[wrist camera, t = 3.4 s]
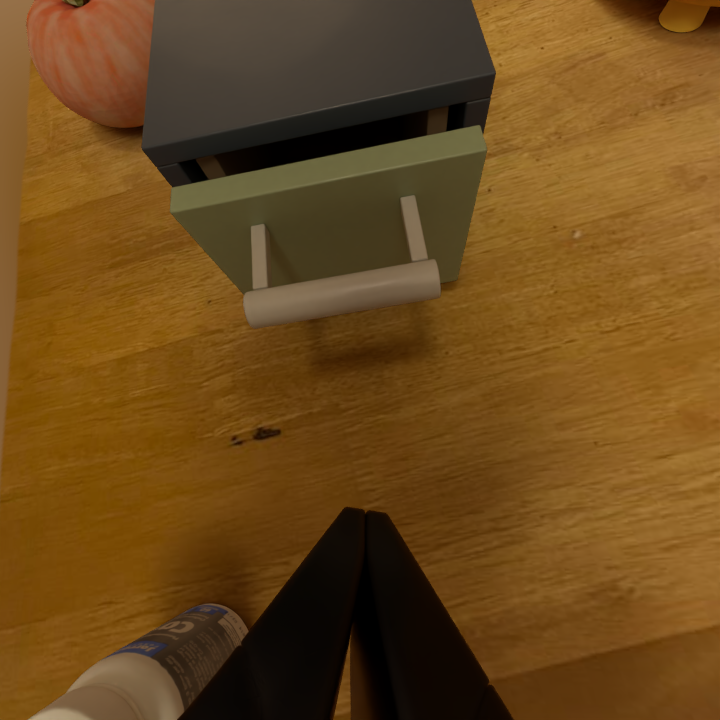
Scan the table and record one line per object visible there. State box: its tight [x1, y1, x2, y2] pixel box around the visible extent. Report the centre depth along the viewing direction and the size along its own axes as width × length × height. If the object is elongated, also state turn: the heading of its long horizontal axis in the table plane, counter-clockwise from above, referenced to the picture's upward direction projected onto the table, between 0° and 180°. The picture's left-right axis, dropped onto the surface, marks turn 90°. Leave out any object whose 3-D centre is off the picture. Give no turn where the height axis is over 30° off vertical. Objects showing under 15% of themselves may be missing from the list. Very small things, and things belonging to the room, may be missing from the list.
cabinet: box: [142, 0, 496, 187], centre depth 21 cm, size 15×13×11 cm
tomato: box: [27, 0, 155, 128], centre depth 27 cm, size 11×11×8 cm
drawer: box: [170, 106, 487, 329], centre depth 19 cm, size 18×12×9 cm, turn 7°
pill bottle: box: [28, 603, 249, 720], centre depth 14 cm, size 5×5×8 cm
